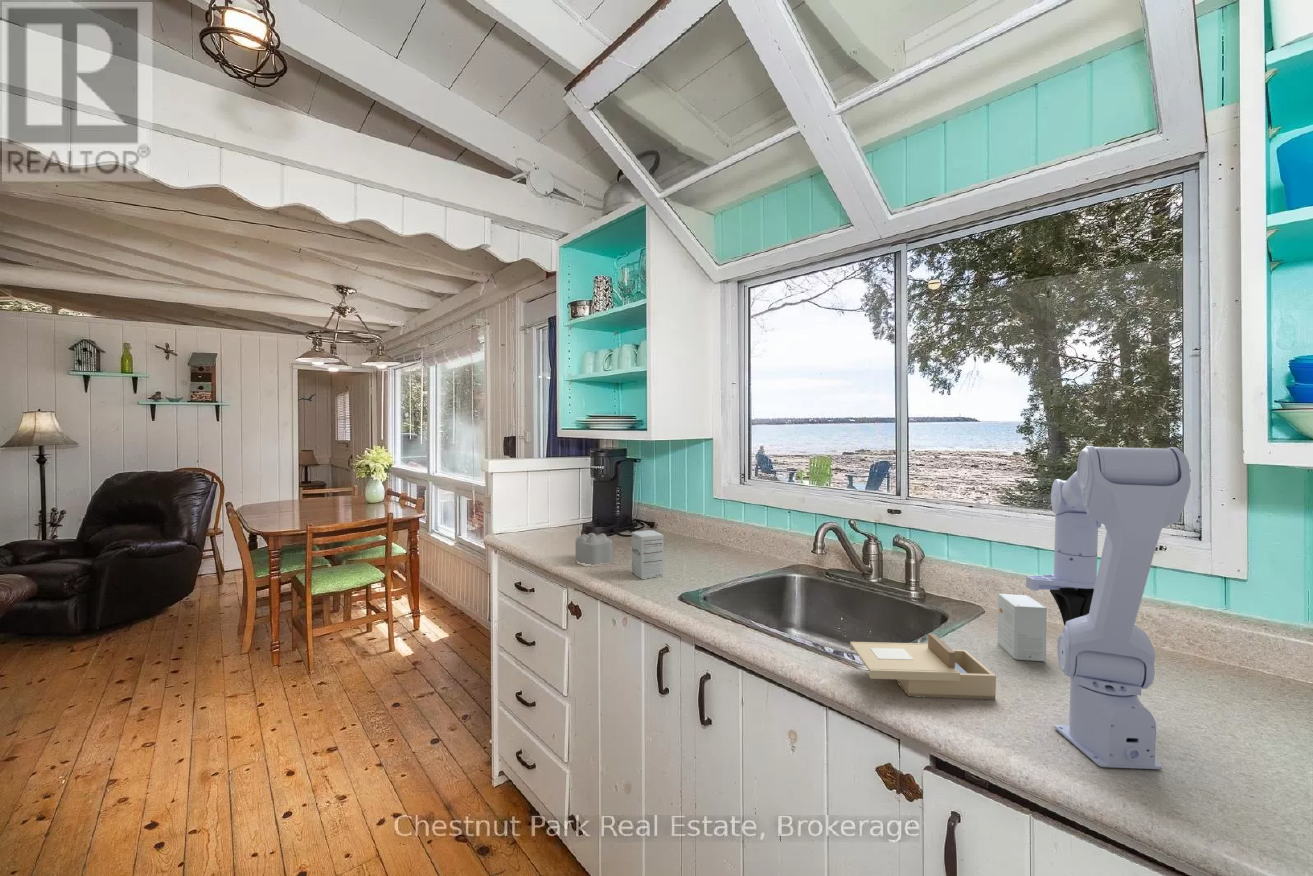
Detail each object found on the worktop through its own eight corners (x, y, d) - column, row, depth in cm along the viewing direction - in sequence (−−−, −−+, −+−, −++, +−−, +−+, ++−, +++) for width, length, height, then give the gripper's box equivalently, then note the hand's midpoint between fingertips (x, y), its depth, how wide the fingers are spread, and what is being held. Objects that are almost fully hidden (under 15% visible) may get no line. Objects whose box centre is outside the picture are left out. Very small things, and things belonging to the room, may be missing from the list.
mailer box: (995, 699, 90) (995, 675, 90) (908, 697, 91) (908, 673, 91) (965, 671, 100) (965, 649, 100) (886, 669, 101) (887, 648, 101)
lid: (959, 681, 90) (960, 657, 90) (870, 678, 91) (870, 655, 91) (929, 651, 101) (929, 629, 101) (850, 649, 102) (850, 628, 102)
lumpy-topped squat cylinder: (588, 568, 169) (588, 540, 168) (568, 559, 179) (568, 533, 179) (616, 562, 175) (616, 536, 175) (595, 554, 185) (595, 529, 185)
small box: (1046, 662, 104) (1047, 608, 103) (1013, 660, 105) (1015, 606, 104) (1026, 645, 112) (1028, 594, 111) (996, 643, 113) (997, 592, 112)
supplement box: (631, 573, 163) (630, 531, 162) (653, 570, 166) (653, 529, 165) (640, 580, 156) (640, 536, 156) (664, 577, 159) (664, 534, 159)
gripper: (1102, 547, 95) (1100, 624, 96) (1016, 546, 96) (1014, 622, 96) (1135, 557, 88) (1133, 640, 88) (1042, 556, 89) (1039, 638, 89)
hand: (1073, 632), depth 92 cm, fingers closed
